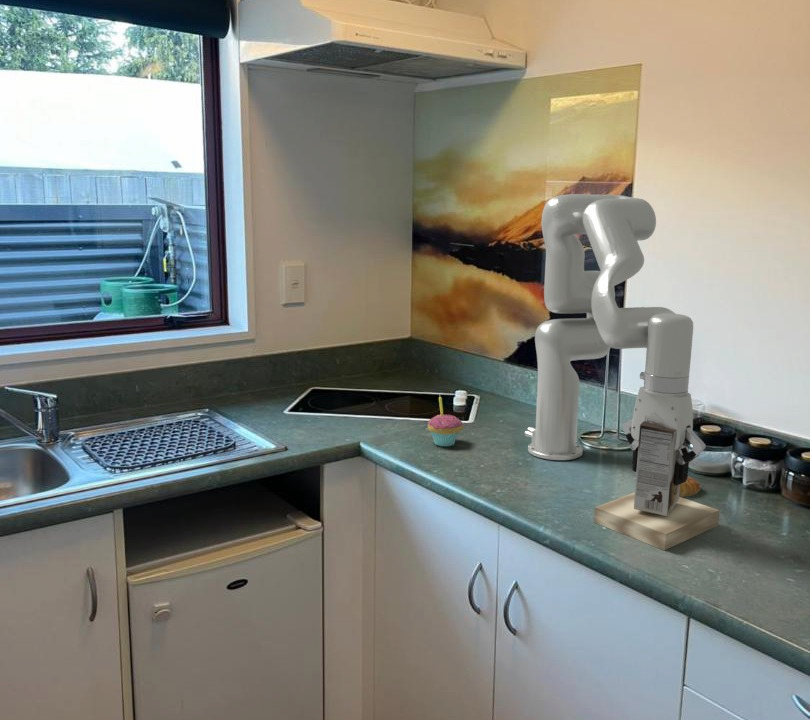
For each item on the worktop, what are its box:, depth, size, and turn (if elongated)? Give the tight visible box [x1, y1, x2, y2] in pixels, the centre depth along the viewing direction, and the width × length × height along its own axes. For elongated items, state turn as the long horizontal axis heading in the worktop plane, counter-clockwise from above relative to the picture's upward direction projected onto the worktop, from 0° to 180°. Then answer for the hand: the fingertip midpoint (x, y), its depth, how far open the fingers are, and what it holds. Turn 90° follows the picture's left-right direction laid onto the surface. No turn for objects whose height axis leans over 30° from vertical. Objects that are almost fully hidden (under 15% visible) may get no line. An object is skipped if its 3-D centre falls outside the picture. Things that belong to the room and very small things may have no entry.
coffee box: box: [634, 421, 682, 516], centre depth 146 cm, size 9×6×16 cm
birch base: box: [593, 491, 721, 551], centre depth 148 cm, size 15×17×3 cm
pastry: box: [679, 476, 701, 498], centre depth 164 cm, size 9×7×4 cm
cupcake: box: [427, 393, 464, 447], centre depth 193 cm, size 9×8×12 cm
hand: (658, 476), depth 146 cm, fingers closed on coffee box, 8 cm apart
